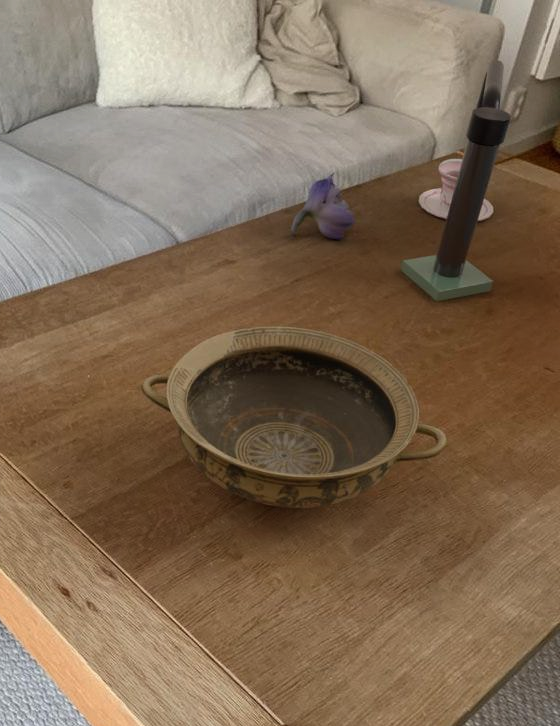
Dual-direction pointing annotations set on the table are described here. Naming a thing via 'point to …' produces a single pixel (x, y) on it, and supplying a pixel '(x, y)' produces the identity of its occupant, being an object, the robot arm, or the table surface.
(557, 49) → the robot arm
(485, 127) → the spout
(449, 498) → the table surface
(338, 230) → the flower
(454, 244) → the base
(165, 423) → the table surface
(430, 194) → the teacup
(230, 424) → the ceramic bowl
